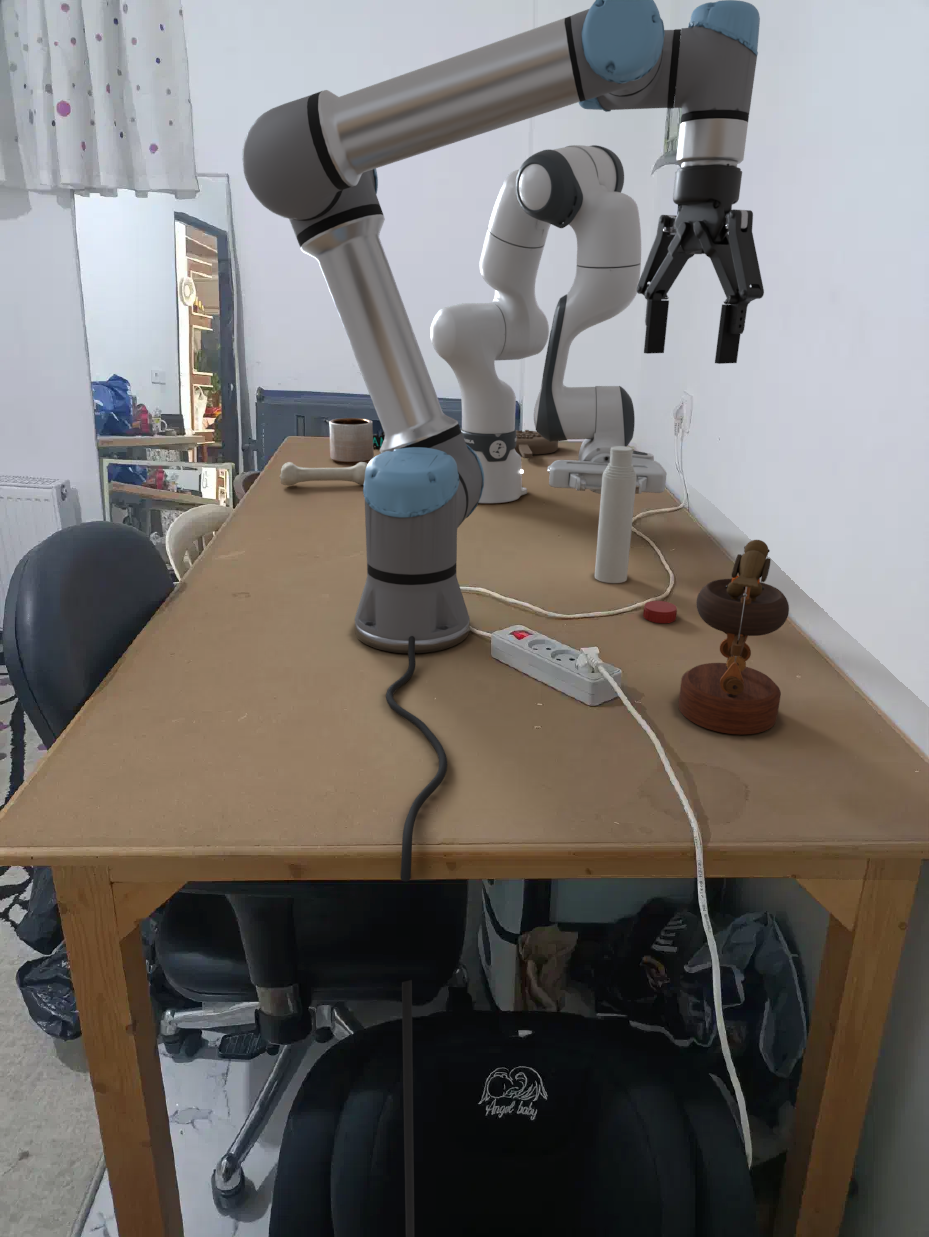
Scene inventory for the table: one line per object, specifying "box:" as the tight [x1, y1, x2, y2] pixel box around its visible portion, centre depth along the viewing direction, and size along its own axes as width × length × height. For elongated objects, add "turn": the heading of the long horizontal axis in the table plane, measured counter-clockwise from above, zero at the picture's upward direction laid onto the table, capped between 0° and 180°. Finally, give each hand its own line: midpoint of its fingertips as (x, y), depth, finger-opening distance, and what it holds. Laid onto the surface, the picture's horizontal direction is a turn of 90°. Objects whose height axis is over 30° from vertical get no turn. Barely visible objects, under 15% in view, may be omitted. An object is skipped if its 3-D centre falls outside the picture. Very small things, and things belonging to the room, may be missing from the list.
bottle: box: [594, 446, 637, 584], centre depth 130 cm, size 5×5×21 cm
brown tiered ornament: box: [677, 539, 790, 735], centre depth 91 cm, size 15×11×20 cm
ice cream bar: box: [515, 429, 559, 459], centre depth 225 cm, size 21×28×4 cm
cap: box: [642, 600, 678, 624], centre depth 119 cm, size 5×5×2 cm
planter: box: [328, 417, 375, 464], centre depth 212 cm, size 11×11×10 cm
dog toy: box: [279, 461, 368, 487], centre depth 188 cm, size 20×6×5 cm, turn 99°
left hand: (687, 358), depth 106 cm, fingers open, 13 cm apart
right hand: (609, 487), depth 142 cm, fingers open, 8 cm apart
